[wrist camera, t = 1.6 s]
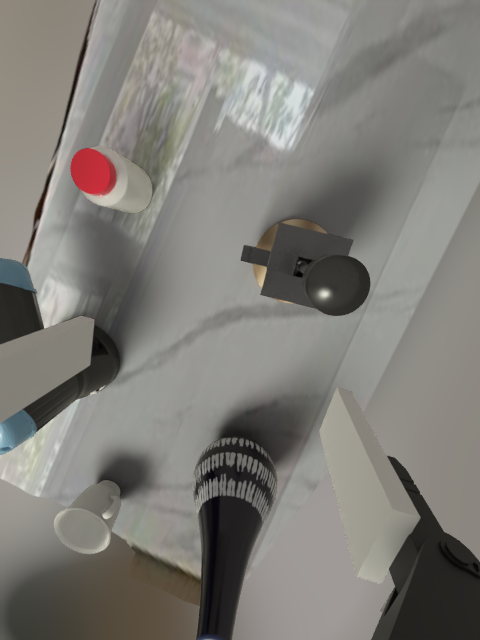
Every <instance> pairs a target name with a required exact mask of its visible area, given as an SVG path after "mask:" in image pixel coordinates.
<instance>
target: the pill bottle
mask: <svg viewBox="0 0 480 640" xmlns="http://www.w3.org/2000/svg"><path fill="white" fill-rule="evenodd" d="M71 175H72V178H73V180H74V182H75V184H76V185H77V186H78V188H79V189H80V190H81V191H82V193H83V194H84V195H85V197H86V198H87V199H89V200H90V201H91V202H93V203H95V204H97V205H100V206H103V207H107V208H111V209H115V210H119V211H123V212H127V213H138V212H141V211H142V210H144V209H145V208H146V207H147V206H148V205H149V203H150V201H151V198H152V183H151V180H150V178H149V176H148V175H147V173H146V172H145V171H144V170H143V169H142V168H140V167H139V166H137V165H136V164H134V163H133V162H131V161H129V160H128V159H126V158H125V157H123V156H122V155H120V154H119V153H117V152H115V151H114V150H112V149H110V148H108V147H104V146H94V147H91V148H86V149H82V150H80V151H78V152H77V153H76V154H75V155H74V157H73V159H72V162H71Z"/></svg>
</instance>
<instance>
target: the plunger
mask: <svg viewBox="0 0 480 640" xmlns="http://www.w3.org/2000/svg"><path fill="white" fill-rule="evenodd" d="M293 276H297V277H301V278H302V287H303V291H304V293H305V295H306V296H307V298H308V299H309V300H310V301H311V303H312V304H313V305H314V306H315V307H316V308H317V309H318V310H319V311H321V312H323V313H325V314H328V315H332V316H341V315H346V314H349V313H351V312H353V311H355V310H356V309H357V308H359V307H360V306H361V305H362V304H363V302H364V301H365V299H366V298H367V296H368V293H369V290H370V277H369V273H368V271H367V269H366V268H365V266H364V265H363V264H362V263H361V262H360V261H358V260H357V259H355V258H353V257H350V256H344V255H334V254H328V255H323V256H320V257H318V258H316V259H314V260H310V259H306V258H302V257H298V259H297V263H296V266H295V270H294V273H293Z"/></svg>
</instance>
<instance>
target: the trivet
mask: <svg viewBox="0 0 480 640" xmlns="http://www.w3.org/2000/svg"><path fill="white" fill-rule="evenodd" d="M280 223H284V224H288V225H292V226H297V227H301V228H305V229H309V230H313V231H318V232H322V233H326V234H327V232H326V231H325V230H324V229H323V228H321V227H320V226H318V225H317V224H315V223H313V222H310V221H307V220H302V219H292V220H286V221H283V222H280ZM278 224H279V223H278ZM278 224H276V225H275V226H273V227H272V228H270V229H269V230H268V231H267V232H266V233H265V234H264V235H263V236H262V237H261V239H260V241H259V242H258V244H257V246H256V248H260V249H264V250H269V251H270V249H271V248H272V247H273V244H274V240H275V236H276V232H277V228H278ZM253 269H254V274H255V277H256V280H257V282H258V284H259V285H260V287H261V288H262V286H263V283H264V279H265V275H266V271H267V267H265V266H261V265H257V264H253ZM274 299H275V298H274ZM276 300H278V301H281V302H286V303H291V302H287V301H283V300H279V299H276Z"/></svg>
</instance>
